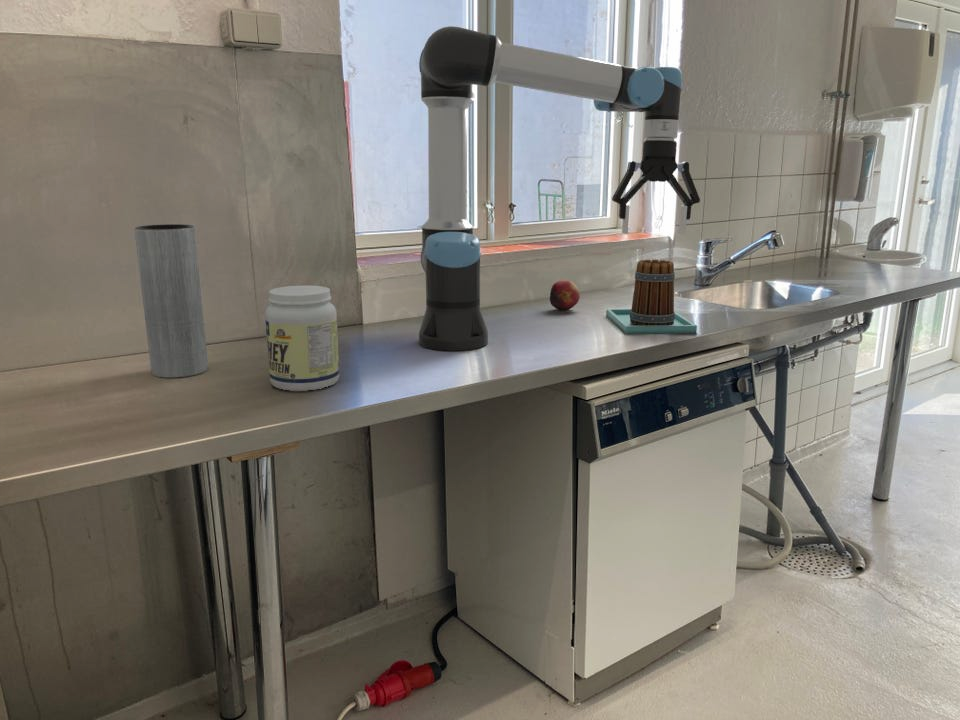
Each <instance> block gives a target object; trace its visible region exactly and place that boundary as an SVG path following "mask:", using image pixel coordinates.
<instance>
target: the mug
mask: <svg viewBox="0 0 960 720" xmlns="http://www.w3.org/2000/svg"><path fill="white" fill-rule="evenodd" d="M674 266H675V264H674V261H671V260H665V259H660V260H659V258H651V259H640V260H639V261H637V264H636V270H635V272H634V273H635V274H634V279H635V280H634V285H633V286H634V287H633V296H632V303H631V308H630V309H631V311H630V322H631V323H632V324H633V325H635V326H643V325H673V324H674V320H675V312H676V311H675V290H674V289H675V287H674V286H675V284H674V283H675V282H674V281H675V280H676V279H675V275H676V274H675V268H674ZM674 311H675V312H674Z"/></svg>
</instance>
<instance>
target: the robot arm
mask: <svg viewBox="0 0 960 720" xmlns="http://www.w3.org/2000/svg"><path fill="white" fill-rule="evenodd" d="M418 63H419V64H418V65H419V66H418V68H419V69H418V70H419V73H420V77H421V78H420V95H421V97H420V99H421V101H422V102H423V104H424V105H425V106H426V107H427V109H428V110H427V111H428V112H427V117H428V121H427V124H428V129H427V131H428V133H427V134H428V135H427V136H428V139H427V141H428V144H427V145H428V146H427V147H428V148H427V149H428V151H427V152H428V219H427V220H426V221H425V222H424V223H423V224H422V225H421V229H422V230H421V238H422V239H421V244H422V245H421V252H420V264H421V267H422V269H423V271H424V272H425V296H426V297H425V298H426V301H425V302H426V307H425V312H424V315H423V319H422V321H421V324H420V329H419V332H418V345H420V346H421V347H423V348H425V349H426V348H427V349H430V350H436V351H437V350H438V351H447V352H448V351H450V352H451V351H457V352H458V351H467V350H470V351H471V350H475V349H480V348H483V347H486V346H487V345H488V344H489V332H488V328H487V325H486V322H485V319H484V316H483V313H482V309H481V255H482V249H481V244H480V243H481V242H480V240H479V238H478V237H477V236H476V235H474V232H473V231H474V226H473V225H472V224H471V223H470V222H469V220H467V196H468V195H467V194H468V193H467V192H468V191H467V186H468V185H467V184H468V181H467V180H468V179H467V177H468V176H467V175H468V173H467V172H468V171H467V170H468V164H467V163H468V160H467V159H468V109H469V107H470V106H471V105H472V104H473V103H474V102H475V85H476V86H483V87H488V88H489V87H490V86H492V85H494V84H495V83H497V84H503V85H509V86H513V87H517V88H518V87H519V88H525V89H531V90H536V91H541V92H548V93H554V94H560V95H564V96H570V97H577V98H582V99H586V100H587V99H588V100H593V105H594V107H595V109H596V110H597V111H599V112H601V111H602V112H608V113H611V112H616V113H617V112H624V113H627V112H628V113H629V112H630V113H633V112H636V113H637V112H638V113H644V115H645V117H644V130H643V138H644V139H645V140H644V141H643V143H642V157H641V162H636V161H634V160H630V161H628V162H627V169H626V171H625V174H624V175H623V177H622V179H621V181H620V182H619V185H618V186H617V188H616V190H615V191H614V194H613V196H612V197H611V200H612V202H615V203H617V204H619V205H618V206H619V207H618V208H619V210H618V218H619V219H621V220H622V227H621V229H622V230H621V233H622V234H624V235H626V234H629V225H630V224H629V223H630V222H629V221H630V208H631V206H630V205H629V204H628V203H629V202H630V200H631V199H632V198H633V197H634V196H635V195H636V194H637V193H638V192H639V190H640V189H641V188H642V187H643V186H644V185H645V184H646V183H647V182H662V183H663V182H664V183H665V182H667V183H668V184H669V185H670V187H671V188H672V190H674V192H675V194H676V195H677V196H678V198H679V199H680V200H681V202H682V203H683V204H684V205H680V207H679V222H678V230H677V231H678V232H677V233H678V234H679V235H685V234H686V228H687V227H686V226H687V220H690V219H691V214H692V207H693V205H695V204H699V203H700V202H701V199H700V196H699V194H698V191H697V188H696V186H695V185H696V184H695V183H694V180H693V178H692V176H691V175H692V174H691V173H690V163H689V162H688V161H682V162H678V163H677V157H676V156H677V145H678V142H677V141H675V139H677V138H678V135H679V134H678V132H679V120H680V119H679V117H680V106H681V98H682V97H681V96H682V90H683V88H682V87H683V82H682V81H683V79H682V77H683V76H682V75H683V74H682V70H681V69H680V68H678V67H674V66H673V67H672V66H663V67H662V66H655V67H651V66H641V67H639V68H638V67H634V66H633V67H632V66H627V65H620V64H617V63H613V62H612V63H611V62H606V61H601V60H596V59H590V58H586V57H585V58H584V57H580V56H574V55H569V54H564V53H558V52H554V51H547V50H543V49H537V48H533V47H527V46H522V45H517V44H511V43H506V42H502V41H501V40H500V38H499V37H498V36H497V35H495V34H494V35H493V34H489V33H484V32H479V31H476V30H474V29H473V30H472V29H469V28H468V29H467V28H464V27H461V26H453V25H452V26H444V27H441V28H438V29H436V30H435V31H434V32H432V33H431V35H429V37H428V39H426V42H425V44H424V47H423V49H422V50H421V53H420V56H419V62H418ZM638 169H640V171H641V172H642V174H641V175H640V176H639V178H637V181H635V183H634V184H632V186H631V187H630V188H629V189H628V190H627V192H626V193H624V192H625V190H626V189H627V187H628V185H629V183H630V181H631V180H632V178H633V176H634V174H635V172H637V171H638ZM677 169H678V172H679V173H680V174H681V177H682V179H683V182H684V185H685V187H686V190H687V191H688V193H686V192H685V190H684V189H683V188H682V186H681V184H680V183H679V182H678V179H677V178H676V177H675V175H674V172H675V171H676V170H677ZM688 195H689V196H688Z"/></svg>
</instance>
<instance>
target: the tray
mask: <svg viewBox="0 0 960 720" xmlns="http://www.w3.org/2000/svg"><path fill="white" fill-rule="evenodd" d="M631 309H632V308H606V311H605V317H606V318H607V319H609V320H610V322H612V323H613V325H615V326H616V327H617V328H618V329H619V330H620V331H621V332H622V333H624V335H649V334H650V335H652V334H654V335H659V334H660V335H662V334H664V335H665V334H675V335H676V334H697V330H698V329H697V328H698V326H697V324H695V323H693V322H692V321H690V320H689V319H688V318H686V317H684V316H682V315H681V314H680V313H678V312H676V311H675V310H674V312H675V320H674V324H673V325H643V326H635V325H633V324H632V323H631V322H630V311H631Z"/></svg>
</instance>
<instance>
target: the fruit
mask: <svg viewBox="0 0 960 720" xmlns="http://www.w3.org/2000/svg"><path fill="white" fill-rule="evenodd" d="M551 286H552V287H551V289H550V293H549V301H550V305H551V306H552V307H553V308H554V309H556V310H558V311H563V312H566V311H569V310H570V309H573V308H574V307H575V306H577V304H578V303H579V300H580V297H581V295H580V294H581V293H580V291H579V289H578V286H577V285H576V283H574V282H573V281H572V280H559V281H556V282H554V283H553V284H552V285H551Z"/></svg>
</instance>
